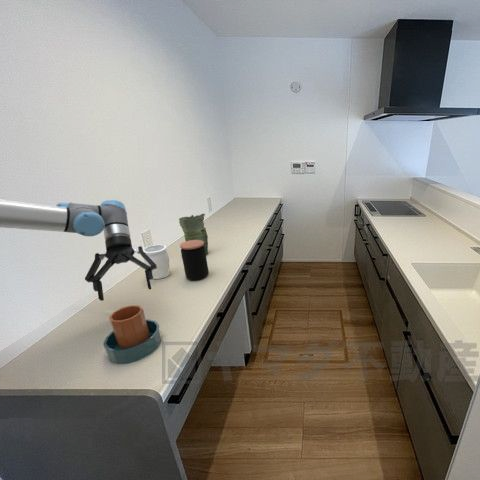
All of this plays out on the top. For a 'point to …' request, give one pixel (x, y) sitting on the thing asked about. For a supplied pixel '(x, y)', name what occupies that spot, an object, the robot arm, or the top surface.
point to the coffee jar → (194, 259)
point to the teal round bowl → (137, 351)
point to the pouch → (194, 229)
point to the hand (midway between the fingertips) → (126, 293)
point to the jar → (158, 260)
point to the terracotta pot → (129, 326)
